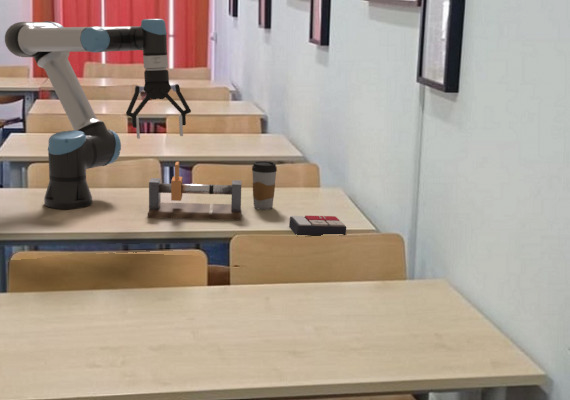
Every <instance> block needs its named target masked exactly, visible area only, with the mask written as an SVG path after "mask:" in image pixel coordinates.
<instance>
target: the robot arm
mask: <svg viewBox="0 0 570 400" xmlns="http://www.w3.org/2000/svg"><path fill="white" fill-rule="evenodd" d="M140 23H141V25H139V26H137V25H136V26H135V25H134V26H133V25H132V26H131V25H130V26H127V25H125V26H68V27H67V26H66V27H65V26H63V25H62V24H60V23H58V22H54V21H46V20H45V21H20V22H15V23H13V24H12V25H10V26H9V27H8V28H7V30H6V31H5V34H4V43H5V44H4V45H5V46H6V49H8V51H9V52H11V54H13V55H14V56H17V57H21V58H33V59H34V60H35V63H36V64H37V67H39V68H41V69H44V71H45V73H46V75H47V77H48V79H49V82H50V83H51V86H52V88H53V89H54V92H55V94H56V96H57V98H58V100H59V102H60V104H61V106H62V108H63V111H64V112H65V115H66V117H67V119H68V121H69V122H70V124H71V127H72V129H73V130H72V129H71V130H67V131H65V130H64V131H63V130H62V131H59V132H56V133H53V134H51V136H50V137H49V138H48V147H47V153H48V175H49V178H48V179H49V181H48V185H47V188H46V191H45V195H44V200H43V201H44V206H46V207H47V208H51V209H56V210H57V209H58V210H73V209H74V210H75V209H82V208H86V207H90V206H91V205H92V204H93V196H92V193H91V190H90V187H89V185H88V181H87V170H89V169H94V168H98V167H106V166H108V165H110V164H113V163H115V162H116V160H118V158H119V157H120V153H121V150H122V143H121V139H120V137H119V135H118V134H117V132H116V131H113V130H112V129H108V127H107V126H106V124H105V122H104V121H103V120H101V119H98V118H97V116H96V113H95V111H94V110H93V107H92V105H91V103H90V102H89V99H88V97H87V96H86V93H85V92H84V90H83V87H82V85H81V83H80V81H79V79H78V77H77V75H76V73H75V71H74V69H73V67H72V65H71V62H70V61H69V56H70V53H71V52H74V53H76V52H77V53H79V52H80V53H81V52H83V53H84V52H88V53H105V52H129V51H130V52H132V51H142V55H143V56H142V57H143V58H142V59H143V69H145V70H144V72H143V75H144V86H141V85H135V87H134V93H133V96H132V98H131V100H130V102H129V105H128V107H127V110H126V112H125V115H126V116H127V117H131V120H132V121H131V122H132V127H133V128H134V129H136V138H137V139H138V140H139V139H141V133H140V132H141V131H140V119H139V116H138V114H139V113H140V112H141V111H142V110H143V108H144V107H145V106H146V104H147V103H148V102H149V101H150V99H151V100H164V99H166V100H168V101H169V103H170V104H171V105H172V106H173V107H174V108H175V109H176V110H177V111H178V113H180V114H178V126H179V136H180V137H183V136H184V129H183V128H184V127H183V126H186V124H187V120H186V115H187V114H191V113H192V110H191V108H190V106H189V105H188V103H187V100H186V99H185V97H184V95H183V94H182V91H181V90H180V89H181V88H180V85H179V84H178V83H175V84H172V85H171V84H170V75H169V70H168V68H169V63H168V62H169V61H168V59H169V58H168V48H167V47H168V45H167V44H168V43H167V42H168V41H167V39H168V37H167V36H168V35H167V34H168V32H167V27H166V26H167V25H166V21H165V20H164V19H163V18H148V19H147V18H144V19H141V22H140ZM171 90H172V91H173V92H175V93H176V96H177V97H178V99H179V101H180V102H181V104H182V107H184V109H182V107H181V106H180V105H179V104H178V102H176V101H175V100H174V98H173V97H172V96H171V95H170V94H169V92H170V91H171ZM143 91H144V92H145V93H146V95H145V96H144V97H143V99H142V101H141V102H140V103H139V104H138V106H137V107H135V110H134V111H133V109H134V106H135V104H136V102H137V100H138V97H139V96H140V95H139V94H141V93H142V92H143ZM132 111H133V112H132Z"/></svg>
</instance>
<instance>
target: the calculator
mask: <svg viewBox="0 0 570 400" xmlns="http://www.w3.org/2000/svg"><path fill="white" fill-rule="evenodd" d="M288 227H289V229H290V230H291V232H292V233H294V235H296V234H297V235H323V234H346V235H347V226H346V225H345V223H344V222H343V221H341V220H340V219H339V218H338V217H337V216H334V215H292V216H289V226H288Z"/></svg>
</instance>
